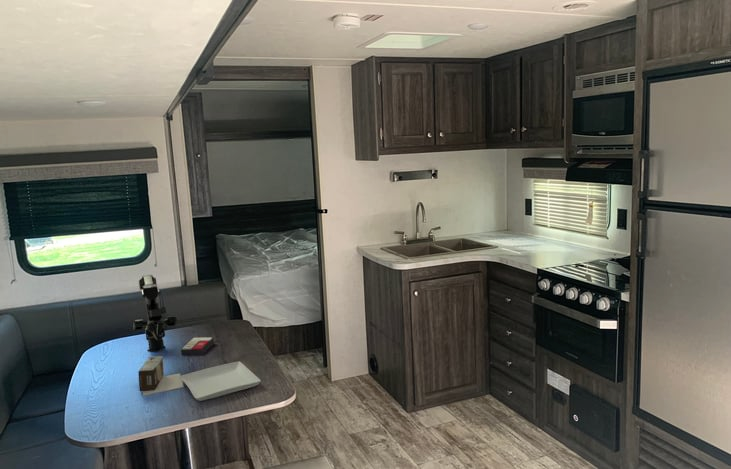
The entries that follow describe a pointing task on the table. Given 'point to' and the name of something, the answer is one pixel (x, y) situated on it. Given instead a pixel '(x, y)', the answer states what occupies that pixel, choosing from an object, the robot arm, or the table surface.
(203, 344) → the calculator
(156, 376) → the coffee box
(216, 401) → the table surface
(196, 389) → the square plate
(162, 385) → the mat
